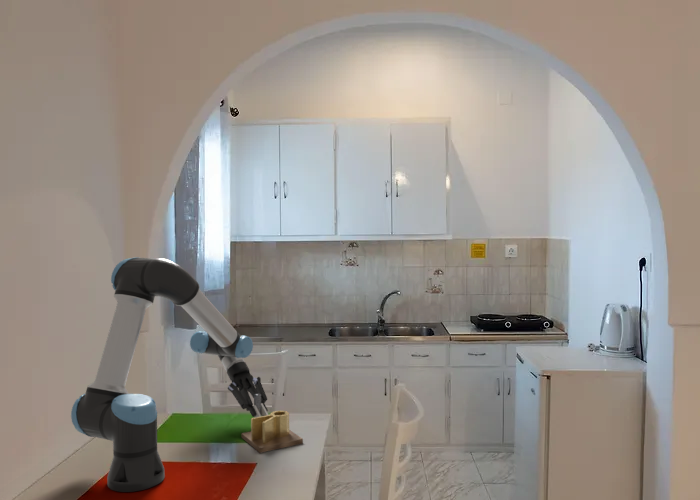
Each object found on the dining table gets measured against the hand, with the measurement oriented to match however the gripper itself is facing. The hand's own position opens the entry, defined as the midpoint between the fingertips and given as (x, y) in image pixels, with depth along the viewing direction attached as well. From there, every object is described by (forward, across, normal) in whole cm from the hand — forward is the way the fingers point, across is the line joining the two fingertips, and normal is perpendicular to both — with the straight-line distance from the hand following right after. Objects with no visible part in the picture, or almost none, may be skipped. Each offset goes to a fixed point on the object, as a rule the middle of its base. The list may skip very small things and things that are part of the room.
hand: (264, 422), depth 206 cm
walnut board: (+8, +4, +4) cm, 10 cm away
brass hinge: (+8, +5, +6) cm, 11 cm away
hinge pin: (-1, 0, -5) cm, 5 cm away
